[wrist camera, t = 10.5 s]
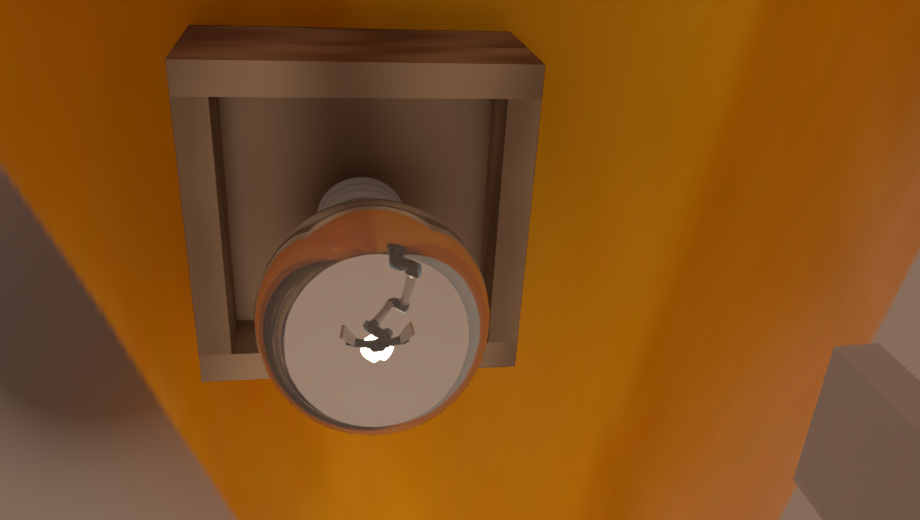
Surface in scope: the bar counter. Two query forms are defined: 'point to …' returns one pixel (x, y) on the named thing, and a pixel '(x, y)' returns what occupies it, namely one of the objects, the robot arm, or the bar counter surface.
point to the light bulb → (371, 313)
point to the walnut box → (347, 155)
